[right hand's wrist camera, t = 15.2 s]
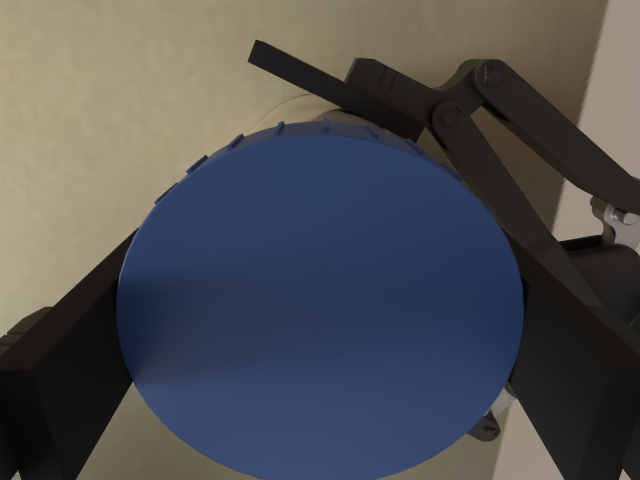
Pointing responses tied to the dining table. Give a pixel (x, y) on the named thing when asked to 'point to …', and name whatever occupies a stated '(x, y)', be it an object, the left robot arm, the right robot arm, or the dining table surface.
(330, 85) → the left robot arm
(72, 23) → the dining table surface
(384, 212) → the lid
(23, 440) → the right robot arm
